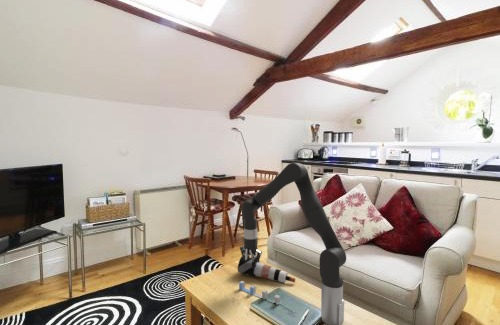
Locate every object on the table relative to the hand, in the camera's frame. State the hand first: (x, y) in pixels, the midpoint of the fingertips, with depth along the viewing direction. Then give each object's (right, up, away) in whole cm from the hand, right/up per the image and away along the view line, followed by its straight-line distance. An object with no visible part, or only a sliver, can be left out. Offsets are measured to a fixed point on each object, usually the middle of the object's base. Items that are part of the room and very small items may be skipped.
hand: (250, 266), depth 147 cm
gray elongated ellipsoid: (-2, 0, -2) cm, 3 cm away
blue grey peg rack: (+4, -13, -6) cm, 15 cm away
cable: (+9, -12, +12) cm, 19 cm away
